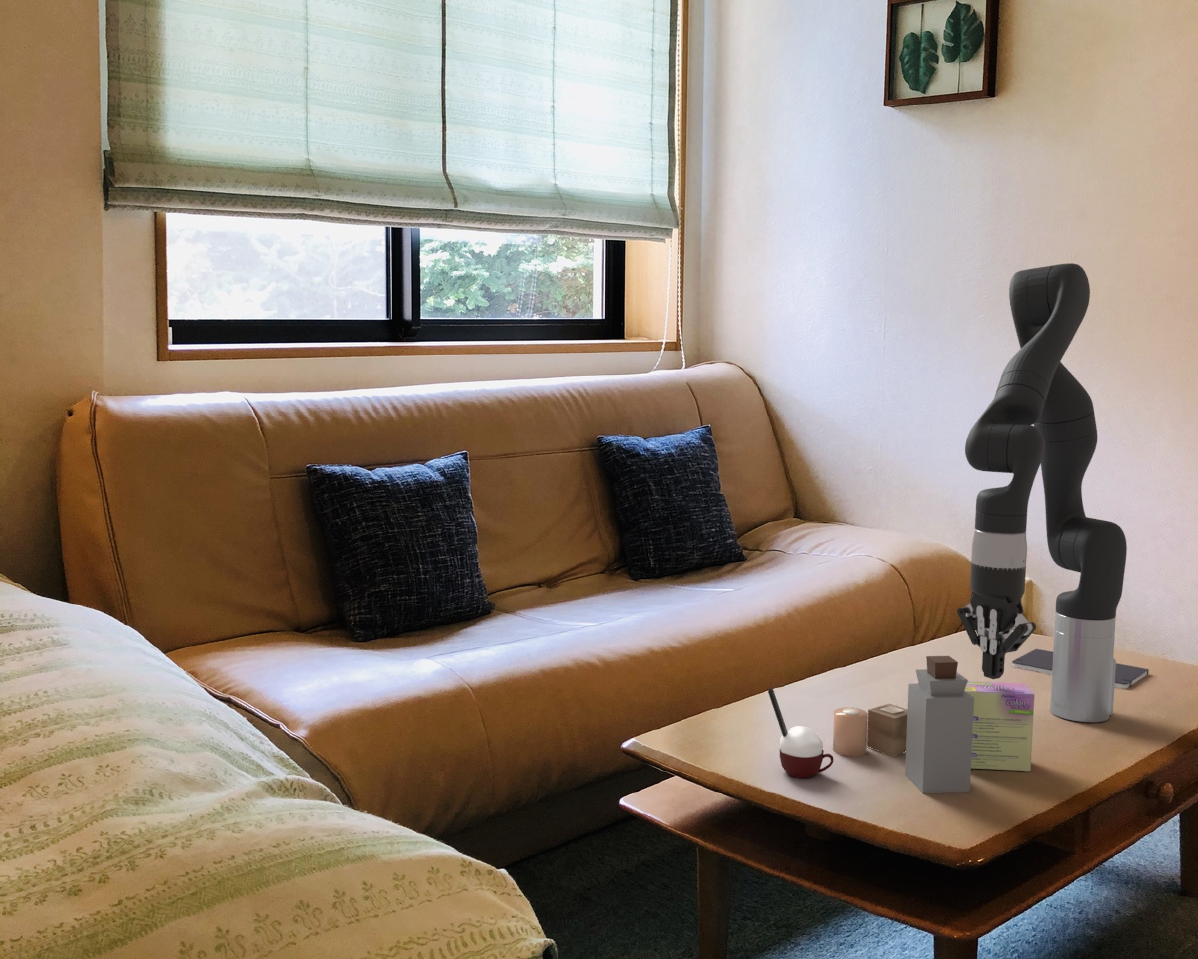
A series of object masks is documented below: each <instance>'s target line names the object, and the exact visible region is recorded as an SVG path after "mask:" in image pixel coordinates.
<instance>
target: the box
mask: <svg viewBox="0 0 1198 959" xmlns="http://www.w3.org/2000/svg"><path fill="white" fill-rule="evenodd" d="M965 691H966V692H968V693H969V694H970V695H972V696H973V697H974V710H973V732H972V754H971V770H973V769H977V770H993V771H994V770H997V771H998V770H999V771H1013V772H1015V771H1016V772H1025V773H1027V772H1031V770H1032V768H1031V767H1032V766H1031V765H1032V764H1031V763H1032V749H1033V748H1032V747H1033V745H1032V744H1033V731H1034V730H1033V727H1034V708H1035V693H1034V691H1033V690H1032V689H1031V688H1030V687H1029V686H1028V685H1027V684H1026V683H1023V682H998V681H997V682H995V681H974V680H973V681H972V680H971V681H970V680H968V682H967V684H966V687H965Z"/></svg>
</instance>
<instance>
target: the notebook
mask: <svg viewBox="0 0 1198 959" xmlns="http://www.w3.org/2000/svg"><path fill="white" fill-rule="evenodd" d="M1011 663H1012V666H1015V667H1014V668H1016V667H1019V668H1018V669H1021V668H1024V669H1023V670H1026V669H1028V670H1027V671H1031V670H1033V671H1032V672H1036V671H1038V672H1037V673H1041V672H1042V674H1045V675H1046V674H1047V675H1051V676H1052V667H1053V651H1051V650H1046V649H1040V648H1034V649H1033V650H1031V651H1029V652H1027V653H1025V654H1023V655H1021V656H1019V657H1018V658H1014V660H1011ZM1149 671H1150V670H1149V668H1144V667H1138V666H1135V665H1134V666H1133V665H1128V664H1122V663H1118V662H1116V670H1115V687H1114V688H1118V689H1123V690H1126V689H1128V688H1132V686H1133V685H1134V684H1136V683H1137V682H1138V681H1140V680H1141V679H1143V678H1144V677H1145V676H1148V675H1149ZM1129 686H1130V687H1129Z"/></svg>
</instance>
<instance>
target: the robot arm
mask: <svg viewBox="0 0 1198 959" xmlns="http://www.w3.org/2000/svg"><path fill="white" fill-rule="evenodd" d="M1090 288H1091V286H1090V282H1089V278H1088V275H1087V273H1086V270H1085V269H1084V268H1083V267H1082V266H1081V265H1080V264H1077V263H1069V262H1067V263H1060V264H1054V265H1047V266H1039V267H1034V268H1028V269H1023V270H1018V271H1016V272H1015V273H1014V274H1013V275H1012V277H1011V279H1010V281H1009V289H1008V291H1009V292H1008V294H1009V295H1008V296H1009V306H1010V312H1011V315H1012V320H1013V324H1014V329H1015V332H1016V336H1017V340H1018V341H1017V342H1018V343H1019V347H1020V349H1018V351H1017V352H1016V353H1015V354H1014V355H1013V356H1012V357H1011V359H1009V361H1008V362H1007V364H1006V365H1005V367H1004V368H1003V371H1002V373H1001V375H1000V379H999V382H998V385H997V388H996V391H995V394H994V398H993V399H992V401H991V402H990V403H989V405H988V406H987V408H986V409H985V410H984V411H983V413H982V414H981V415H980V416H979V418H978V419H977V420H976V421H975V423H974V424H973V426H972V427H971V428H970V430H969V433H968V435H967V438H966V441H965V444H964V445H965V446H964V454H965V457H966V461H967V462H968V464H969V466H971V467H972V468H973V469H974V470H977V471H981V472H989V473H1002V474H1003V473H1005V474H1013V476H1012V479H1011V481H1010V483H1008V484H1007V485H1006V486H1005V485H1004V486H999V487H991V488H985V489H983V490H980V491H979V492H978V494H977V496H976V500H975V517H974V533H973V538H972V543H971V544H972V545H971V557H970V558H971V560H970V561H971V562H970V578H969V579H970V580H969V590H970V591H971V592H972V595H971V596H970V598H969V603H968V604H966V605H965V606H963V607H958V608H957V610H956V612H957V614H958V618H959V620H960V621H961V623H962V625H963V627H964V629H965V632H966V634H967V635H968V638H969V640H970V642H971V644H972V645H974V646H976V645H977V646H978V647H979V649H980V651H981V652H982V658H981V671H982V673H983V677H985V678H988V679H991V680H998V679H1000V678H1001V677H1002V676H1003V675H1004V673H1005V659H1006V658H1005V657H1006V654H1008V653H1013V652H1017V651H1018V650H1019V648H1020V647H1021V646H1022V645H1023V644H1024V643H1025V642H1026V641H1027V640H1028V639H1029V637H1030V636H1031V635H1032V634H1033V633H1034V631H1036V629H1037V624H1036V623H1035V622H1033V621H1031V622H1029V621H1028V620H1027V618H1026V616H1024V606H1023V605H1022V598H1023V595H1024V594H1025V590H1026V572H1027V558H1028V557H1027V556H1028V554H1027V553H1028V541H1027V525H1028V524H1027V521H1028V520H1027V519H1028V507H1029V500H1030V496H1031V492H1032V489H1033V485H1034V482H1035V479H1036V476H1037V474H1038V471H1039V469H1041V470H1040V471H1041V476H1042V483H1043V484H1042V485H1043V492H1044V504H1045V507H1044V508H1045V528H1046V541H1047V546H1048V547H1047V548H1048V552H1049V556H1050V557H1051V559H1052V562H1054V564H1056V565H1057V566H1058V567H1060V568H1062V569H1064V570H1067V571H1073V572H1076V573H1080V575H1079V583H1078V586H1077V587H1076V589H1075V590H1069V591H1064V592H1061V593H1059V594H1058V595H1057V596H1056V600H1055V612H1054V630H1053V649H1052V650H1053V651H1052V652H1053V667H1052V675H1051V687H1050V689H1051V691H1050V707H1049V708H1050V709H1049V711H1050V712H1051V714H1053V715H1055V716H1057V717H1059V718H1062V719H1065V720H1069V721H1074V722H1075V721H1076V722H1080V723H1081V722H1083V723H1101V722H1105V721H1108V720H1109V719H1110V716H1111V715H1113V713H1114V702H1115V701H1114V700H1115V699H1114V698H1115V688H1116V687H1115V670H1116V663H1117V660H1116V659H1115V658H1114V654H1115V653H1114V652H1115V639H1116V638H1115V637H1116V636H1115V633H1116V617H1117V608H1118V606H1119V604H1120V601H1121V597H1122V595H1123V594H1122V593H1123V589H1124V588H1123V587H1124V581H1125V580H1124V579H1125V578H1124V577H1125V573H1126V572H1125V569H1126V561H1127V552H1128V551H1127V550H1128V547H1127V539H1126V534H1125V532H1124V530H1123V529H1122V527H1121V526H1120V525H1118V524H1117V523H1115V522H1112V521H1109V520H1103V519H1099V518H1093V517H1087V516H1086V513H1085V508H1084V503H1083V502H1084V501H1083V495H1082V492H1083V491H1082V485H1083V480H1084V477H1085V474H1086V471H1087V469H1088V467H1089V466H1090V464H1091V461H1092V458H1093V457H1094V454H1095V451H1096V447H1097V446H1098V445H1097V444H1098V429H1097V421H1096V416H1095V408H1094V403H1093V400H1092V397H1091V396H1090V394H1089V393H1088V391H1087V390H1086V389H1085V387H1084V386H1083V385H1082V383H1081V382H1079V380H1078V379H1077V378H1076V377H1075V376H1074V375H1073V373H1071V371H1069V369H1068V368H1067V367H1066V366H1065V365H1064V364H1063V363H1062V362H1061V361H1062V359H1063V357H1064V355H1065V353H1066V352H1067V351H1068V349H1069V346H1070V345H1071V344H1072V341H1073V339H1074V338H1075V336H1076V334H1077V332H1078V330H1079V328H1080V327H1081V324H1082V322H1083V320H1084V318H1085V317H1086V316H1085V315H1087V311H1088V308H1089V305H1090V298H1091V289H1090ZM1040 467H1041V468H1040Z"/></svg>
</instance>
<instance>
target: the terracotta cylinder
mask: <svg viewBox="0 0 1198 959" xmlns="http://www.w3.org/2000/svg"><path fill="white" fill-rule="evenodd" d="M867 730H868V711H866V710H865V709H860V708H855V707H850V706H849V707H838V708H835V709H834V711H833V732H832V734H833V735H832V736H833V737H832V739H833V740H832V751H833V753H835V754H836V755H840V756H842V757H843V756H844V757H850V758H853V757H854V758H855V757H856V756H858V757H863V756H865V755H866V754H867V748H868V747H867ZM864 754H865V755H864ZM862 755H863V756H862Z"/></svg>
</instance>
